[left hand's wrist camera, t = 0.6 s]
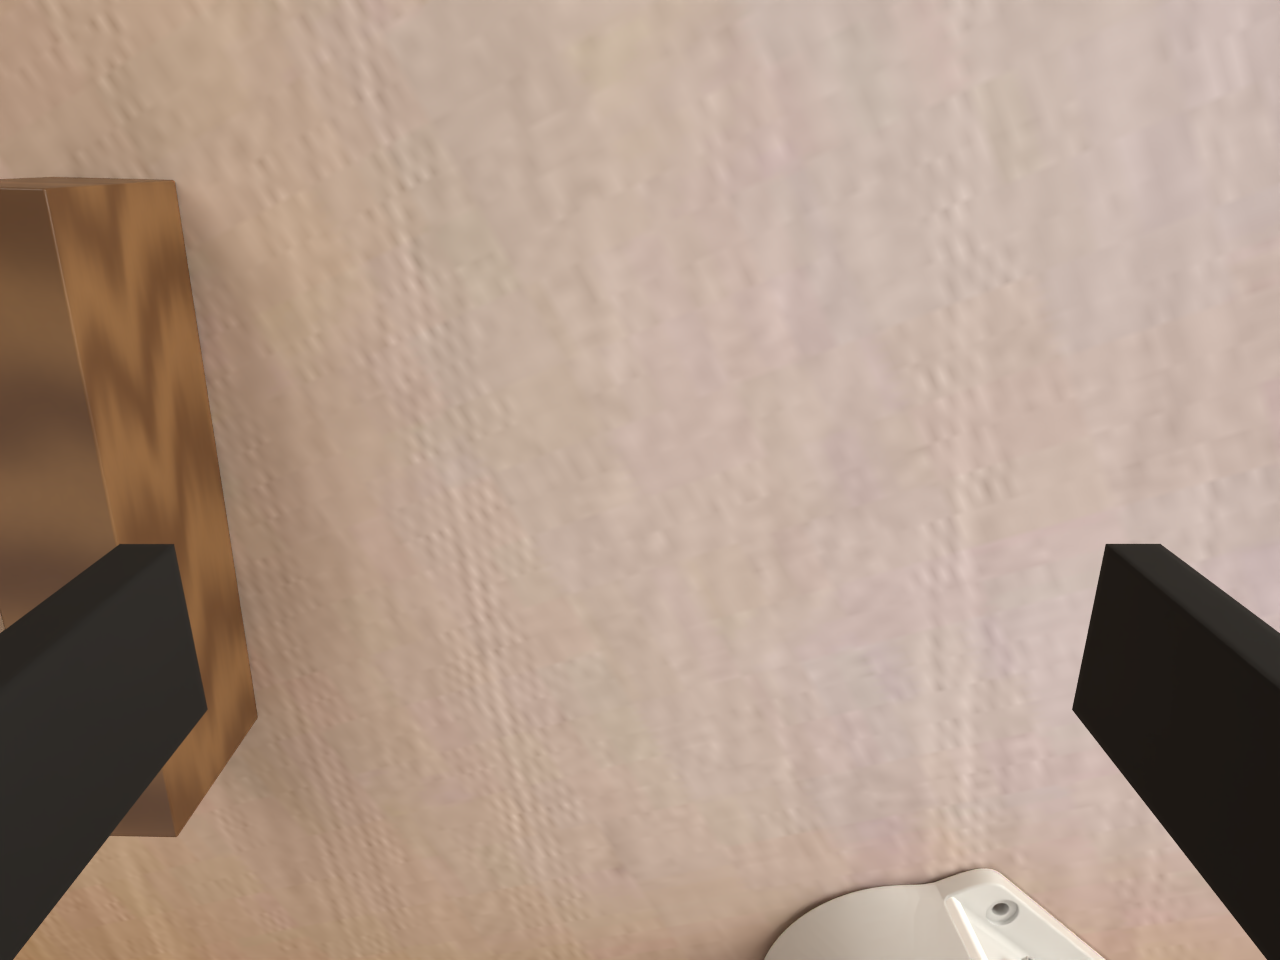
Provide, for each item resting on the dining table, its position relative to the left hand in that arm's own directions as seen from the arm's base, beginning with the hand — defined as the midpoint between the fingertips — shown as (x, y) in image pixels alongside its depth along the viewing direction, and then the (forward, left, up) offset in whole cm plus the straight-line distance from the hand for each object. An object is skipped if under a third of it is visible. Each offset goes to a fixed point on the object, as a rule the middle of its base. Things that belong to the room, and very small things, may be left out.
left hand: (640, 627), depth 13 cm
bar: (+7, -20, -25) cm, 33 cm away
